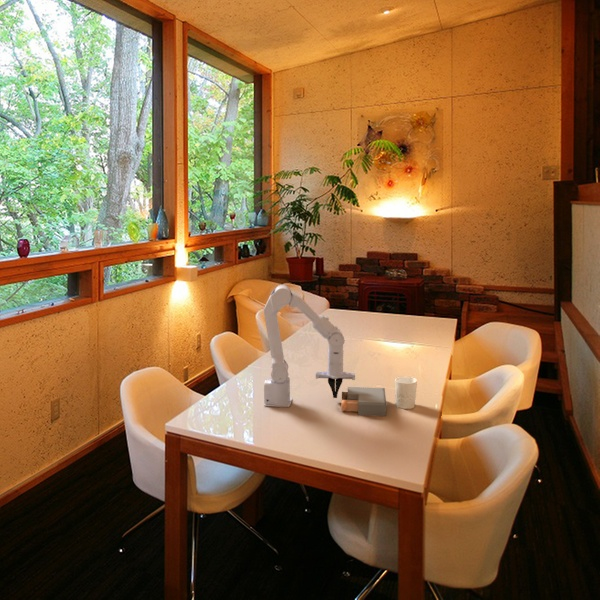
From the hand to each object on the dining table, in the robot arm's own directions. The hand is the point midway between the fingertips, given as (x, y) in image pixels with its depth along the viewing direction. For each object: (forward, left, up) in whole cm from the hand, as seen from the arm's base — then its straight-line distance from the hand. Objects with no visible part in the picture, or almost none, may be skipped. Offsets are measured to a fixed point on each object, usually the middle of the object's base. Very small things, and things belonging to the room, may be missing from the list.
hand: (335, 397), depth 194 cm
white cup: (+26, -1, -2) cm, 26 cm away
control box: (+12, -4, -2) cm, 12 cm away
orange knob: (+8, -8, -2) cm, 12 cm away
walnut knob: (+8, 0, -2) cm, 8 cm away
